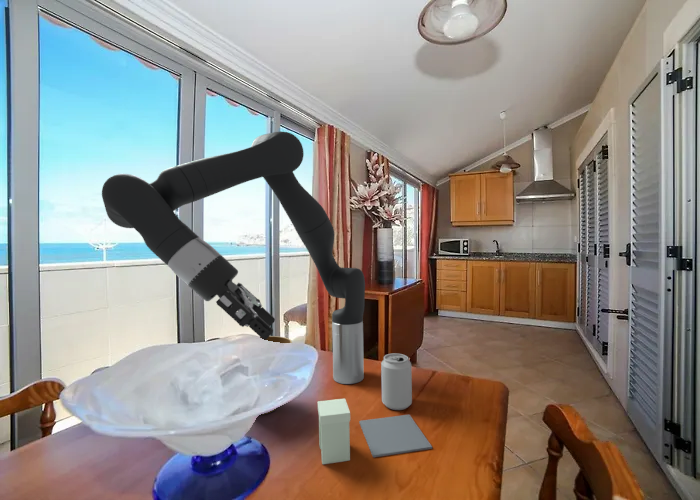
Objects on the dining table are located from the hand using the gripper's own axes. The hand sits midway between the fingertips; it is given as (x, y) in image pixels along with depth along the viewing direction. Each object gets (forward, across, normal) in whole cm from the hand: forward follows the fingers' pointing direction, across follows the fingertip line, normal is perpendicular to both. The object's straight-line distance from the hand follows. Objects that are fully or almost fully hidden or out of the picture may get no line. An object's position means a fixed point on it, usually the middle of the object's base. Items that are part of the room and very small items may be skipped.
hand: (270, 329), depth 59 cm
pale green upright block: (+26, 0, +9) cm, 27 cm away
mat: (+35, +3, 0) cm, 35 cm away
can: (+39, +15, -4) cm, 42 cm away
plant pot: (+15, +21, +20) cm, 33 cm away
